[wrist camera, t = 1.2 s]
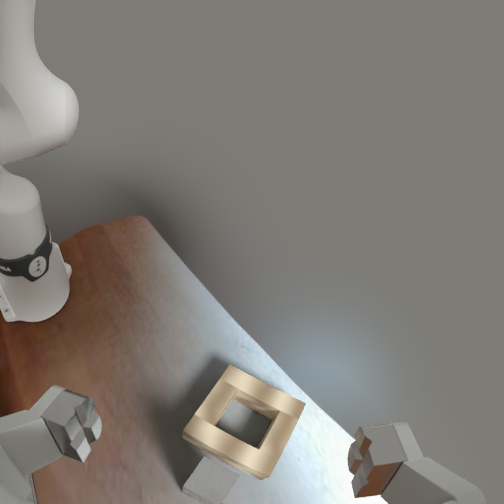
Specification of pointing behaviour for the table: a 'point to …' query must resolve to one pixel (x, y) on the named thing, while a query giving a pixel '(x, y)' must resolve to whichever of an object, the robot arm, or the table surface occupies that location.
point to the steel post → (210, 482)
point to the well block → (258, 399)
